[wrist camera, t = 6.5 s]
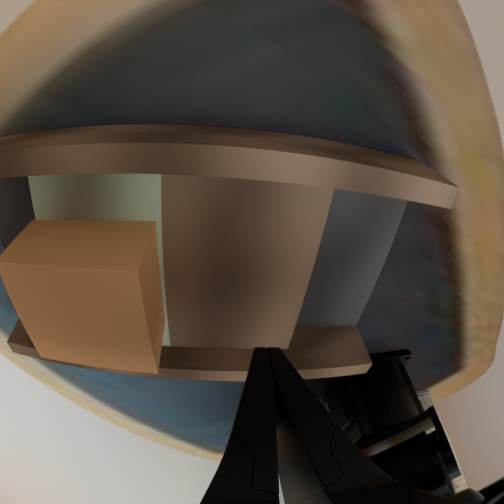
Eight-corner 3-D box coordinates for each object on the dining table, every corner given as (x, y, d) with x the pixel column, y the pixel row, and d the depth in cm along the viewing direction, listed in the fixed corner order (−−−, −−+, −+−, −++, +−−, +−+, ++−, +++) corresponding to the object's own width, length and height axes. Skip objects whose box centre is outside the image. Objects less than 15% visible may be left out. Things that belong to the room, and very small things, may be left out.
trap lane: (416, 160, 13) (459, 187, 10) (349, 332, 19) (366, 373, 16) (-15, 140, 10) (-58, 163, 7) (32, 314, 16) (13, 352, 13)
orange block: (156, 221, 11) (137, 271, 9) (165, 320, 14) (158, 373, 12) (32, 220, 10) (-6, 261, 8) (61, 311, 13) (41, 357, 11)
